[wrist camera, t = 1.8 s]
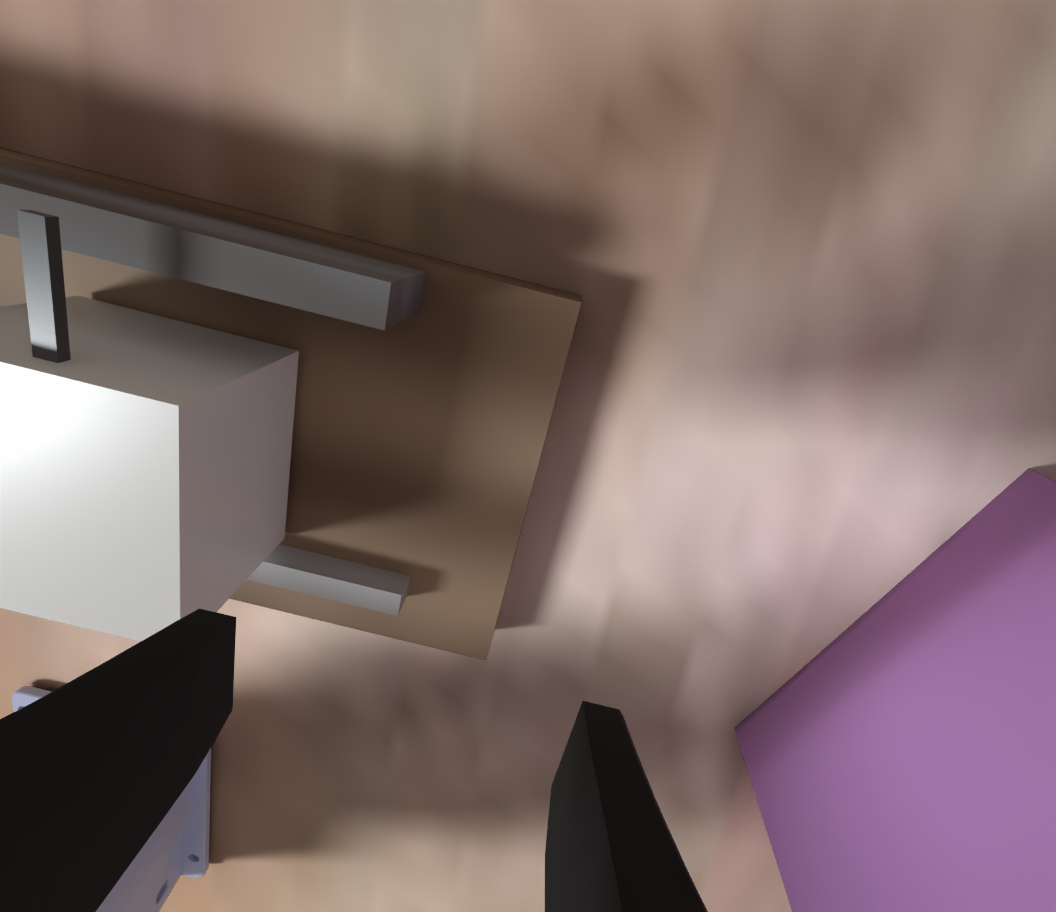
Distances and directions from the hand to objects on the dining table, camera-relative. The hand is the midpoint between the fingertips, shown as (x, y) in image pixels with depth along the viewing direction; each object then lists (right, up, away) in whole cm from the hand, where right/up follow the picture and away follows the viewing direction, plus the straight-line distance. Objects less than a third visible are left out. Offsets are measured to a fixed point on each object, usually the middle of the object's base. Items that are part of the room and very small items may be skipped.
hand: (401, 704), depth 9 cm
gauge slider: (-7, +6, +6) cm, 12 cm away
